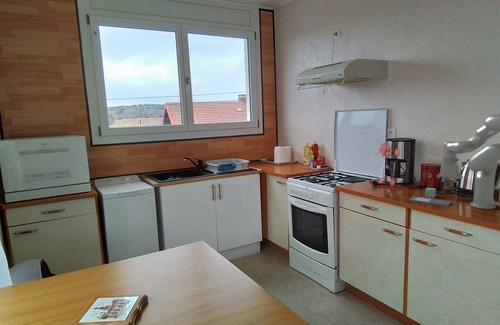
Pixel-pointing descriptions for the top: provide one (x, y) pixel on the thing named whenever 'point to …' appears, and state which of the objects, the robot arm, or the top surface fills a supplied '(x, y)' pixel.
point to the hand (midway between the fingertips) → (449, 187)
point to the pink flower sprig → (386, 152)
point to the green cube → (430, 192)
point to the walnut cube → (449, 184)
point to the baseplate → (430, 201)
